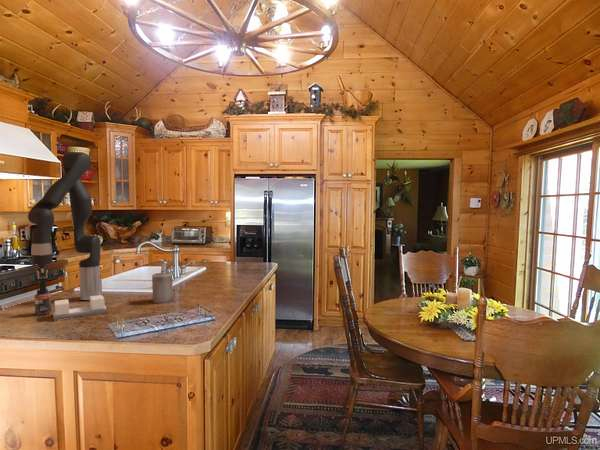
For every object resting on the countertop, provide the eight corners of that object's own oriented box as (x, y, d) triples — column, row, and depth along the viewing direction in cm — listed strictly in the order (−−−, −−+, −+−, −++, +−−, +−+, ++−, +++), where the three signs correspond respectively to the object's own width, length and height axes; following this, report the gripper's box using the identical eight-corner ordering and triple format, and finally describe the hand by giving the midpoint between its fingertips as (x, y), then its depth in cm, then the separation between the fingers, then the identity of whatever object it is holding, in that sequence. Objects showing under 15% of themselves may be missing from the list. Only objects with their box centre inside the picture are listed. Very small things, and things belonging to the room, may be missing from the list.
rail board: (103, 307, 171) (103, 294, 170) (107, 313, 162) (106, 299, 161) (52, 314, 159) (52, 300, 159) (53, 321, 150) (53, 306, 150)
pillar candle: (164, 297, 190) (163, 269, 189) (177, 299, 185) (176, 271, 184) (148, 301, 182) (147, 272, 181) (161, 304, 177) (160, 274, 176)
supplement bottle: (49, 310, 165) (48, 286, 164) (53, 313, 161) (52, 288, 160) (33, 314, 160) (32, 289, 159) (37, 316, 156) (36, 291, 156)
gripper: (31, 252, 162) (32, 287, 163) (31, 255, 151) (32, 293, 151) (51, 251, 167) (52, 285, 167) (52, 254, 155) (53, 291, 156)
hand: (42, 289), depth 159 cm, fingers open, 8 cm apart
